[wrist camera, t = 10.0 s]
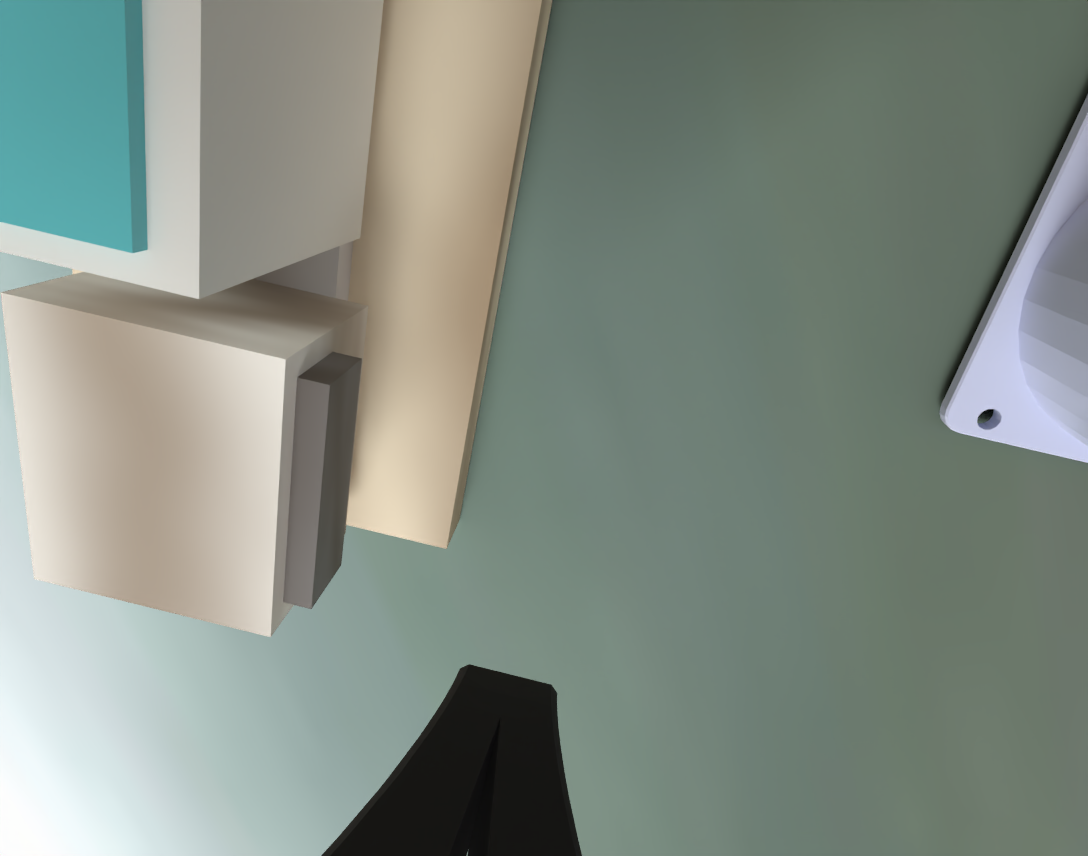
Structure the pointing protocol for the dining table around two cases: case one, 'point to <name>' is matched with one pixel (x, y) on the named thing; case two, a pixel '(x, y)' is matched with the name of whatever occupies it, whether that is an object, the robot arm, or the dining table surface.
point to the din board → (436, 248)
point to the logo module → (184, 135)
